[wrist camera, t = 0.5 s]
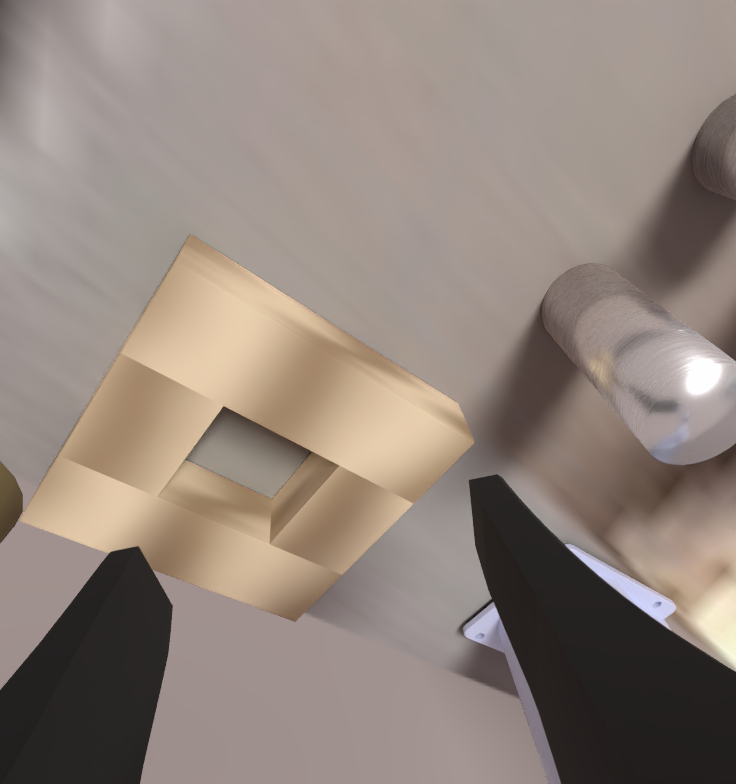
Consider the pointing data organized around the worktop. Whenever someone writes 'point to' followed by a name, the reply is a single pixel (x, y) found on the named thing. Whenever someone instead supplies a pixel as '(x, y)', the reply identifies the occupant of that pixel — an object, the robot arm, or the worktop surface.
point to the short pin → (717, 150)
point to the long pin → (645, 364)
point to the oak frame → (264, 406)
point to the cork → (9, 502)
